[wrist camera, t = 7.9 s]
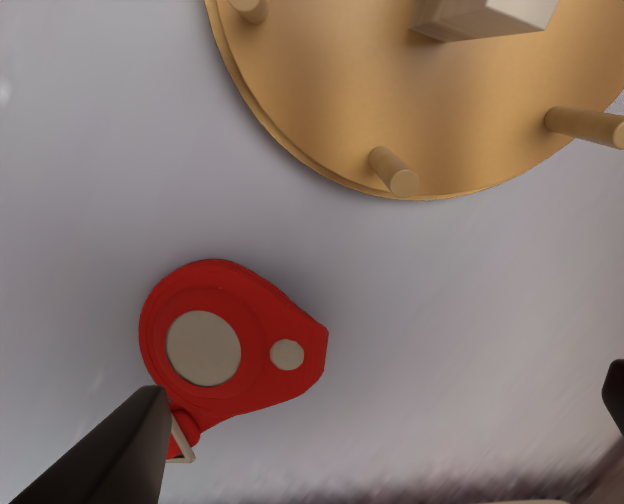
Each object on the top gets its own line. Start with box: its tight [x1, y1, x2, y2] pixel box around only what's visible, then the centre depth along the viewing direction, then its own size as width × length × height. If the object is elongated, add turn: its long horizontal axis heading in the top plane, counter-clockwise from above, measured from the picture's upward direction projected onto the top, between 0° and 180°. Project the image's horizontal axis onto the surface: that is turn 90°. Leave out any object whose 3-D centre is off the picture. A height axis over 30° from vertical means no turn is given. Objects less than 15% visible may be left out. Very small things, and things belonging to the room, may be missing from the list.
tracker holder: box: [139, 259, 329, 463], centre depth 22 cm, size 12×4×10 cm
